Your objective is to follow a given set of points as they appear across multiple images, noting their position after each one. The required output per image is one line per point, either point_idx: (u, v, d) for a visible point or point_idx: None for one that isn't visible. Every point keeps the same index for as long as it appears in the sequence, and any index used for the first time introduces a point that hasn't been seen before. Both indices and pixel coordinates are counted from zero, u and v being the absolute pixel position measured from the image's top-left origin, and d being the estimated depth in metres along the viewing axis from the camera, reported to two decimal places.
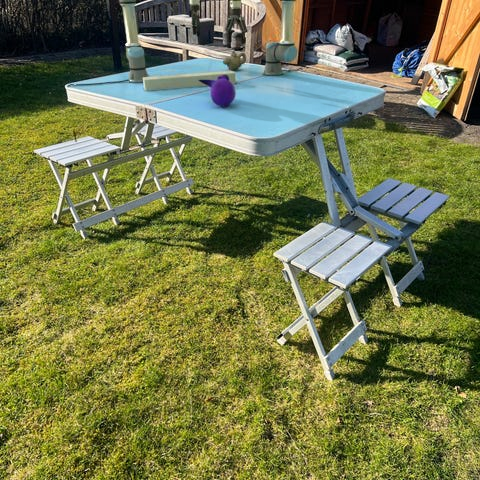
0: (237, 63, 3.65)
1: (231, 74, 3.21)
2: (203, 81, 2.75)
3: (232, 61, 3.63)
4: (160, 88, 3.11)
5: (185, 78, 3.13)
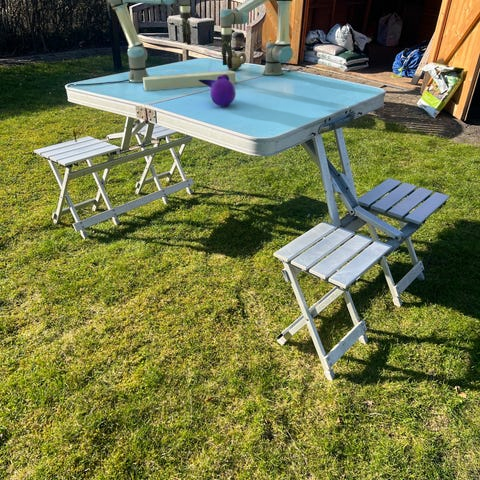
0: (237, 63, 3.65)
1: (231, 74, 3.21)
2: (203, 81, 2.75)
3: (232, 61, 3.63)
4: (160, 88, 3.11)
5: (185, 78, 3.13)
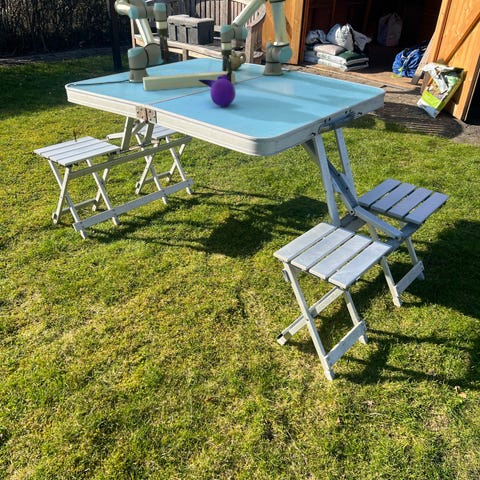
0: (237, 63, 3.65)
1: (231, 74, 3.21)
2: (203, 81, 2.75)
3: (232, 61, 3.63)
4: (160, 88, 3.11)
5: (185, 78, 3.13)
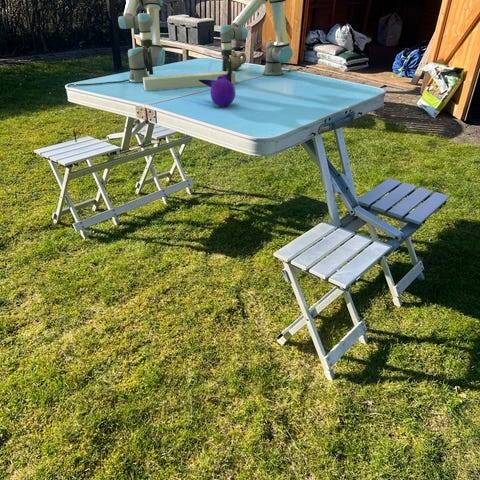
0: (237, 63, 3.65)
1: (231, 74, 3.21)
2: (203, 81, 2.75)
3: (232, 61, 3.63)
4: (160, 88, 3.11)
5: (185, 78, 3.13)
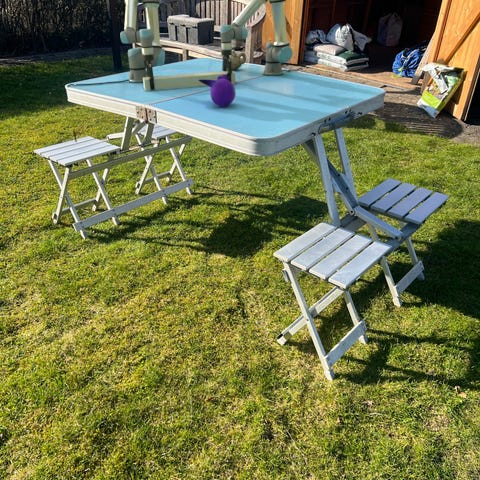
0: (237, 63, 3.65)
1: (231, 74, 3.21)
2: (203, 81, 2.75)
3: (232, 61, 3.63)
4: (160, 88, 3.11)
5: (185, 78, 3.13)
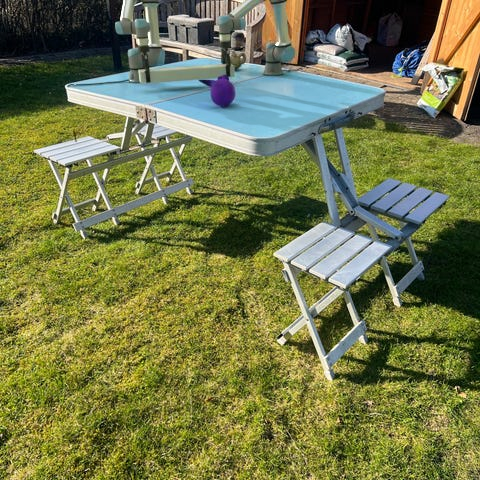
0: (237, 63, 3.65)
1: (230, 67, 3.10)
2: (203, 81, 2.75)
3: (232, 61, 3.63)
4: (156, 81, 3.00)
5: (182, 71, 3.02)
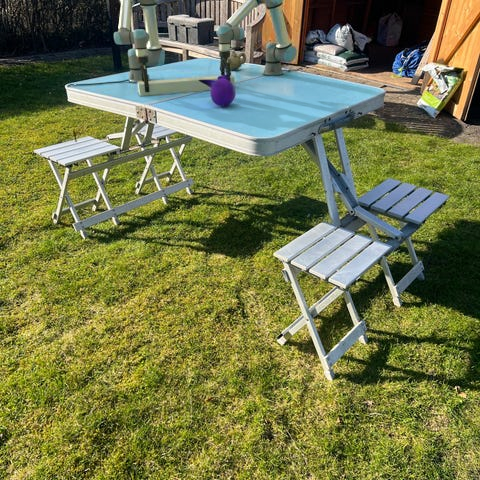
0: (237, 63, 3.65)
1: (230, 78, 3.08)
2: (203, 81, 2.75)
3: (232, 61, 3.63)
4: (155, 93, 2.98)
5: (182, 82, 3.00)
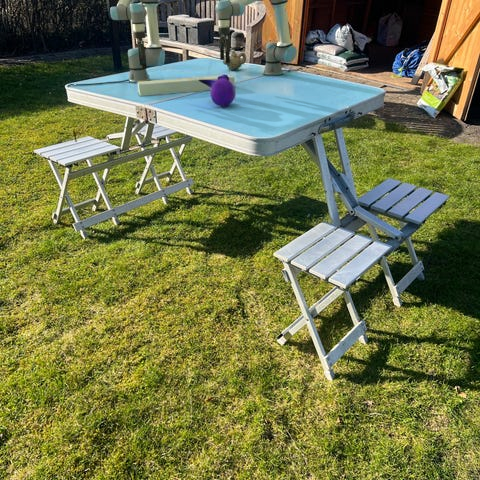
0: (237, 63, 3.65)
1: (230, 78, 3.08)
2: (203, 81, 2.75)
3: (232, 61, 3.63)
4: (155, 93, 2.98)
5: (182, 82, 3.00)
